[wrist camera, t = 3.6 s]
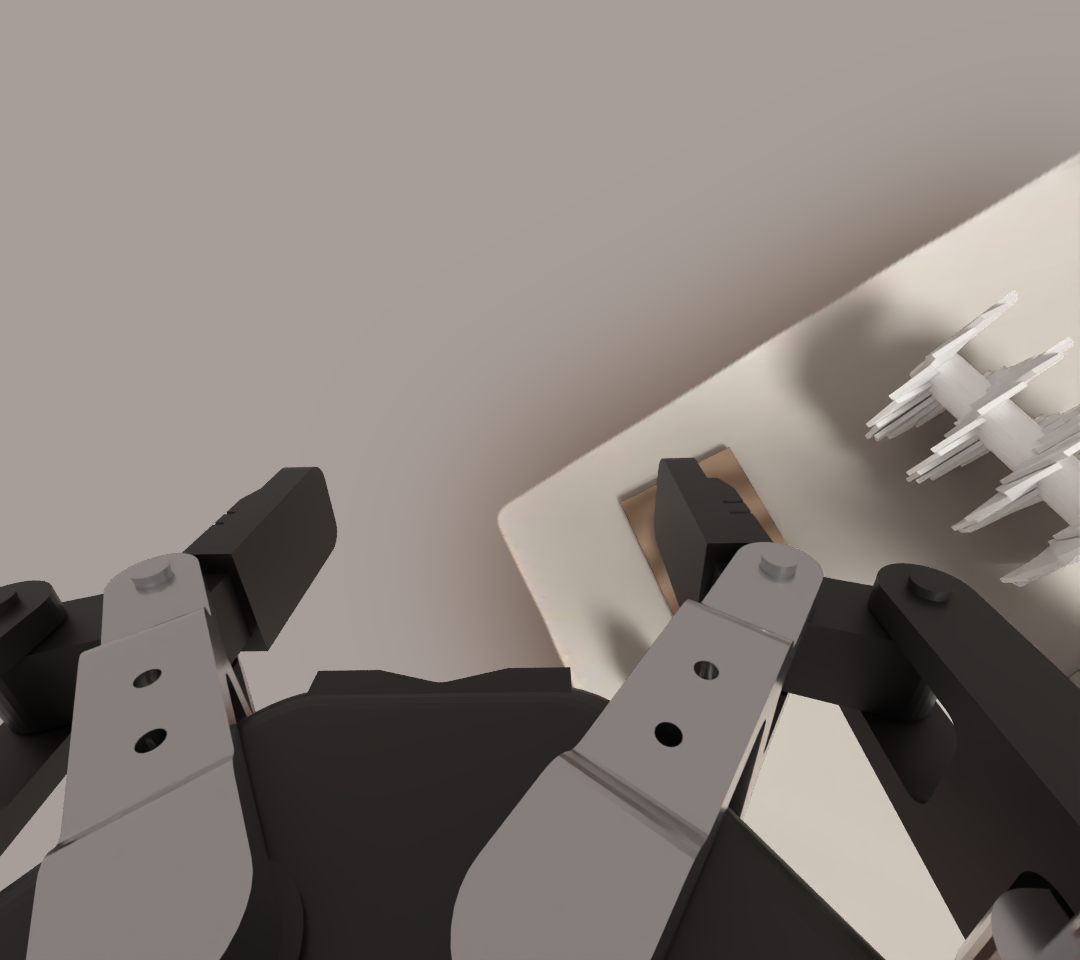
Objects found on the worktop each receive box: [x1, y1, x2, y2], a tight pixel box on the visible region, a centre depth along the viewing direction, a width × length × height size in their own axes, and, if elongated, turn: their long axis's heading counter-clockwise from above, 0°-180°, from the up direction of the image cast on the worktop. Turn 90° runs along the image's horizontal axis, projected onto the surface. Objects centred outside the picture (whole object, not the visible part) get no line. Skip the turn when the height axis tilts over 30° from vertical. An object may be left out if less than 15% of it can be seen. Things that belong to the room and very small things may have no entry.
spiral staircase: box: [865, 290, 1080, 587], centre depth 47 cm, size 18×18×25 cm
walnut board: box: [621, 447, 788, 615], centre depth 64 cm, size 20×16×2 cm
